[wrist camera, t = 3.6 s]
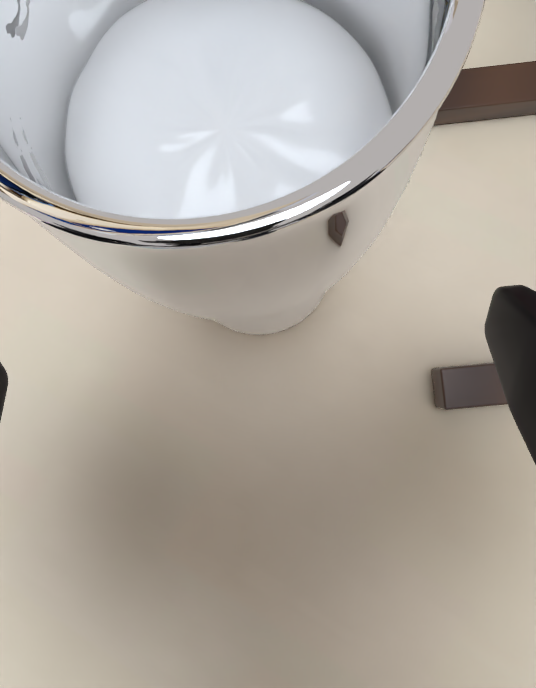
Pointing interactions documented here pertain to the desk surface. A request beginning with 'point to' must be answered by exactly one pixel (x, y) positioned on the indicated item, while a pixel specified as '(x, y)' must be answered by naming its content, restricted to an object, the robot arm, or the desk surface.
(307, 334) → the desk surface
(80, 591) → the desk surface
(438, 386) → the frame
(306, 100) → the beer glass
